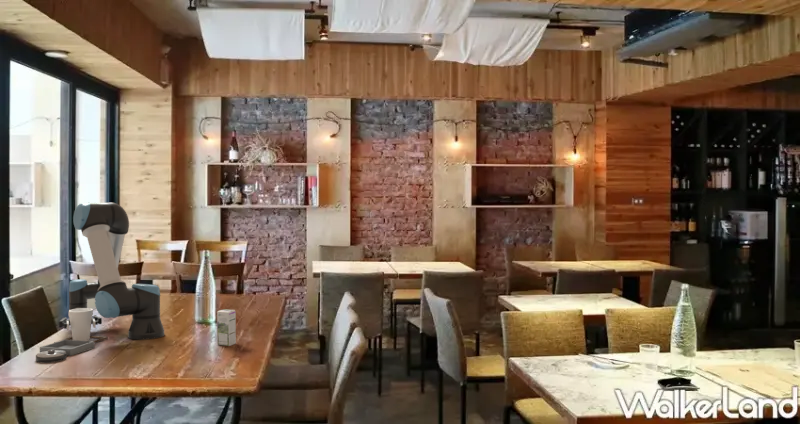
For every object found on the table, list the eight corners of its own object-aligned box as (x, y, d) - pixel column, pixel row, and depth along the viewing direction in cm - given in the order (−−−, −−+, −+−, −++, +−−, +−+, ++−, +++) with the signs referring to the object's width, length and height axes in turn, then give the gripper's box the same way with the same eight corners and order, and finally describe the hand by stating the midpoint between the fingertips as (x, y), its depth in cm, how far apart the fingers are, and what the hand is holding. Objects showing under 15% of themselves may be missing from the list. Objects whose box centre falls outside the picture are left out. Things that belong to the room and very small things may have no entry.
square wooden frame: (107, 338, 307) (107, 336, 307) (84, 346, 292) (84, 344, 292) (77, 336, 310) (77, 335, 310) (53, 344, 296) (53, 342, 296)
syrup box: (236, 343, 298) (236, 309, 298) (228, 346, 293) (228, 311, 292) (224, 342, 300) (224, 308, 300) (216, 345, 295) (216, 311, 294)
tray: (94, 347, 289) (94, 341, 289) (70, 355, 276) (70, 349, 276) (64, 345, 293) (64, 339, 293) (39, 353, 279) (39, 347, 279)
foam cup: (83, 343, 296) (83, 312, 295) (64, 342, 297) (63, 311, 297) (97, 338, 305) (97, 308, 304) (78, 337, 307) (78, 307, 306)
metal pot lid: (72, 357, 274) (72, 347, 273) (53, 363, 263) (53, 354, 263) (49, 355, 276) (49, 346, 276) (29, 361, 266) (29, 352, 266)
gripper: (105, 323, 322) (109, 332, 302) (52, 327, 312) (52, 337, 292) (105, 306, 322) (109, 314, 302) (51, 310, 312) (52, 319, 292)
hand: (81, 325), depth 297 cm, fingers closed on foam cup, 9 cm apart
